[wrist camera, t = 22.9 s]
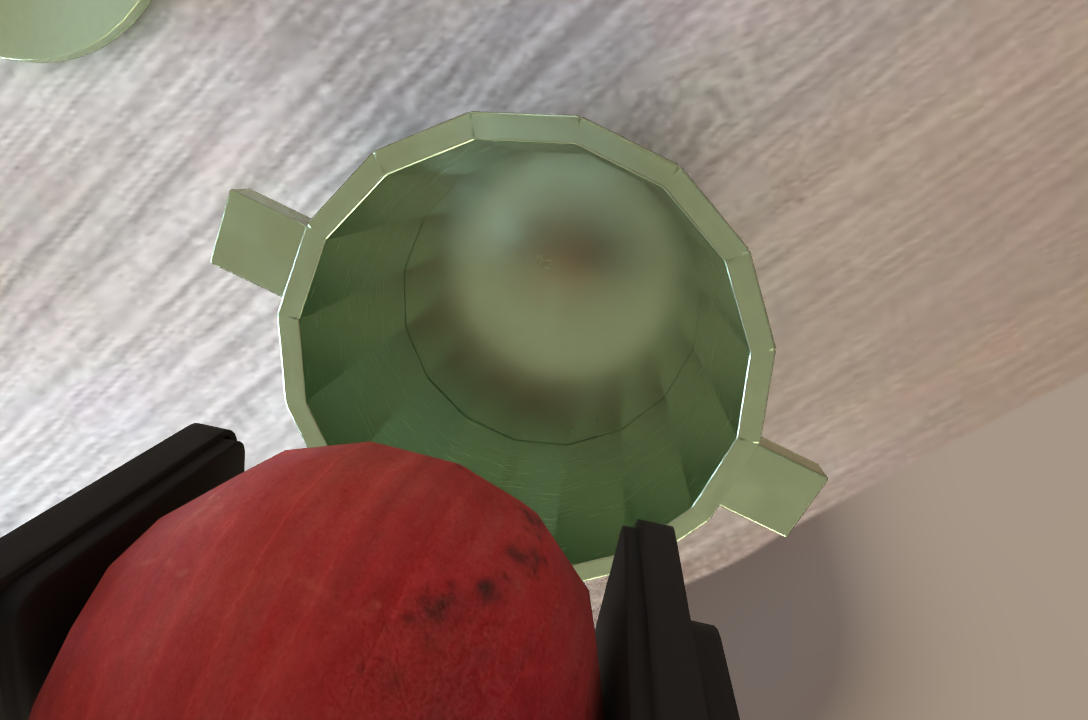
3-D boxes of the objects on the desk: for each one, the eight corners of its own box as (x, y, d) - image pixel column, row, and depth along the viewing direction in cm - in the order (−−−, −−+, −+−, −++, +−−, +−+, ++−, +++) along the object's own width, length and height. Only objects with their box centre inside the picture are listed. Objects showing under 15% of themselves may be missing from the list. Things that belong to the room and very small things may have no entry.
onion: (585, 347, 9) (471, 1095, 2) (622, 650, 11) (646, 1730, 3) (241, 381, 10) (-852, 999, 3) (323, 659, 12) (-203, 1545, 4)
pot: (405, 43, 24) (275, -38, 15) (835, 258, 25) (971, 310, 16) (300, 347, 29) (149, 432, 19) (667, 521, 30) (694, 686, 20)
